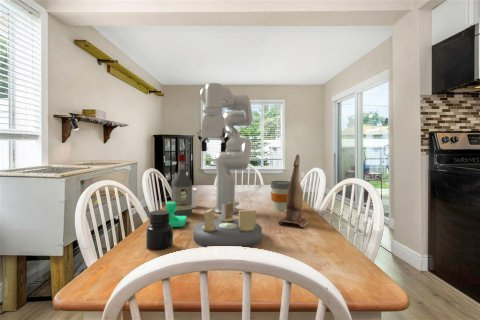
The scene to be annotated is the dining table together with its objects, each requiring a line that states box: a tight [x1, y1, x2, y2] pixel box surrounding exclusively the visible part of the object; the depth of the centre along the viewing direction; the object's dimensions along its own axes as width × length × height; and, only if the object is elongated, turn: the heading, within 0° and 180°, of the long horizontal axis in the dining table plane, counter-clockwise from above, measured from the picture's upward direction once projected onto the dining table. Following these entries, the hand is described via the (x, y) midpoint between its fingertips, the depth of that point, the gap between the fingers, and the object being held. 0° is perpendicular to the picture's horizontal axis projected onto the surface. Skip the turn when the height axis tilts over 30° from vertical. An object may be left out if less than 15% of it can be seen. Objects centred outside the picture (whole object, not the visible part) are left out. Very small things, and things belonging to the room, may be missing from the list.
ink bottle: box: [145, 209, 174, 251], centre depth 104 cm, size 10×9×12 cm
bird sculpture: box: [277, 154, 309, 227], centre depth 133 cm, size 11×12×32 cm
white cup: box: [192, 187, 198, 209], centre depth 166 cm, size 8×8×10 cm
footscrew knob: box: [220, 202, 234, 223], centre depth 122 cm, size 6×5×7 cm
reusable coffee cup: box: [270, 180, 290, 212], centre depth 163 cm, size 13×12×15 cm
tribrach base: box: [193, 208, 263, 248], centre depth 114 cm, size 26×26×12 cm
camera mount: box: [165, 201, 188, 228], centre depth 130 cm, size 12×8×10 cm, turn 0°
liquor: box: [171, 153, 193, 216], centre depth 149 cm, size 9×9×30 cm
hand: (213, 151), depth 131 cm, fingers open, 9 cm apart
